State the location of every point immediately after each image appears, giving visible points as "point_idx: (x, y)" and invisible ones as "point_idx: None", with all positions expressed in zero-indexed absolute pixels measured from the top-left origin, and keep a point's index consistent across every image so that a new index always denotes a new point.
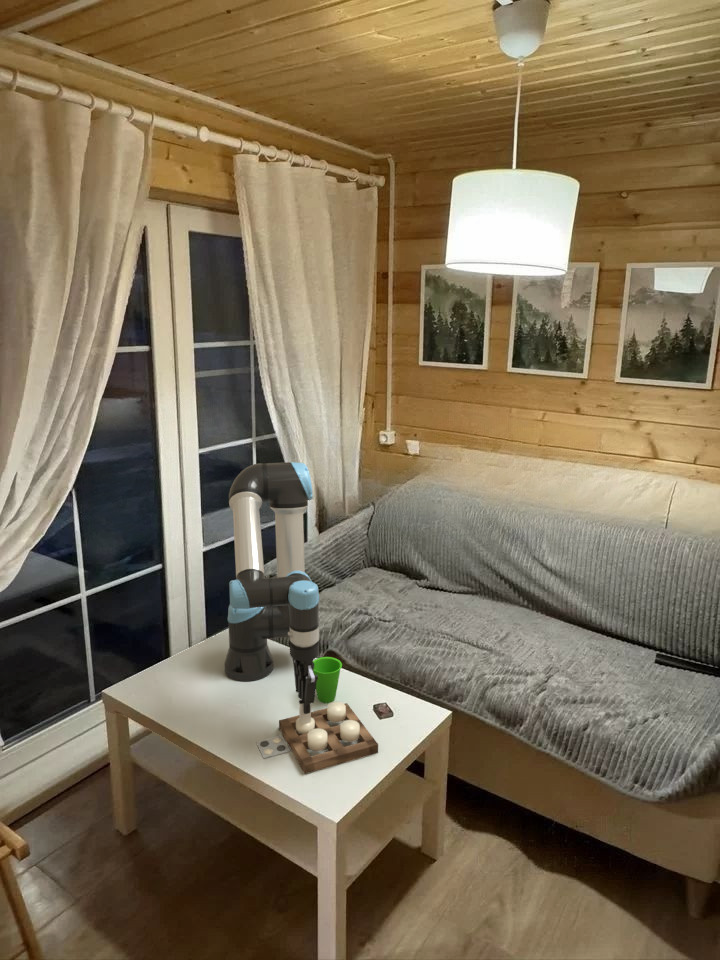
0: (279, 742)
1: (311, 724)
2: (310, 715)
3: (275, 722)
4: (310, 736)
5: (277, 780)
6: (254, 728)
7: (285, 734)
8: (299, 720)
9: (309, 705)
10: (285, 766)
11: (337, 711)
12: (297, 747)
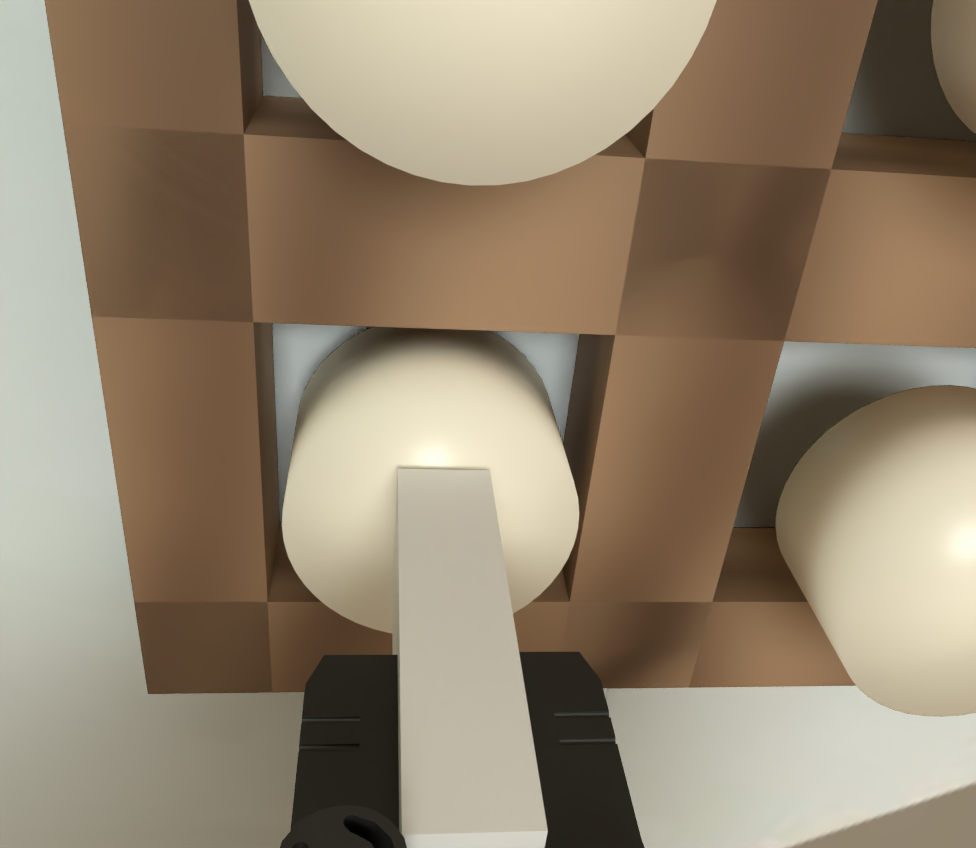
0: None
1: (543, 475)
2: (501, 552)
3: (35, 610)
4: (953, 691)
5: (881, 782)
6: (86, 785)
7: None
8: (392, 604)
9: (631, 817)
10: (777, 702)
11: (666, 12)
12: (754, 664)
